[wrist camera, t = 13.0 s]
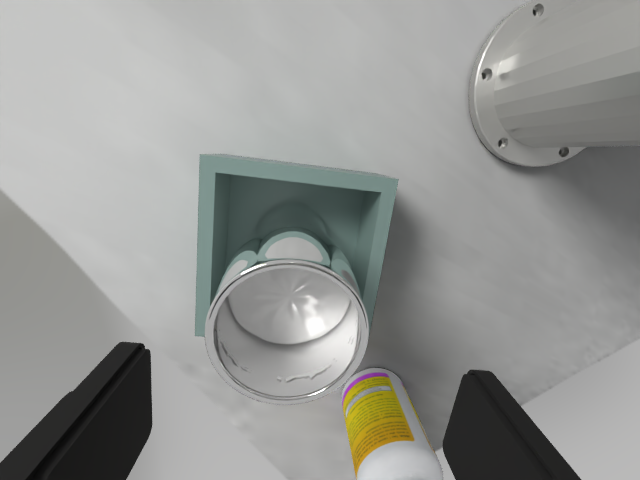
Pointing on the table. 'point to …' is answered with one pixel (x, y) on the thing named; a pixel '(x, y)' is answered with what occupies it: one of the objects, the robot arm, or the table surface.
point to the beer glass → (287, 313)
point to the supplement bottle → (386, 430)
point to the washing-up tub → (280, 189)
